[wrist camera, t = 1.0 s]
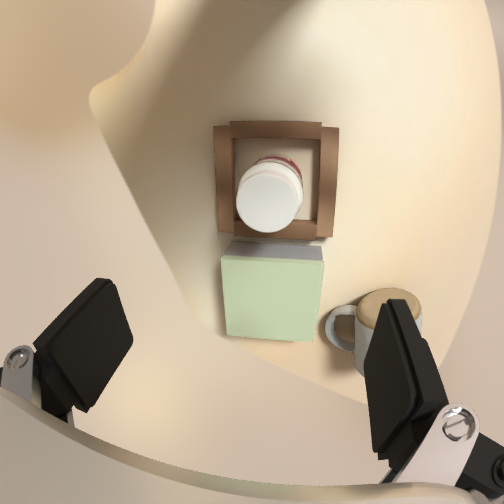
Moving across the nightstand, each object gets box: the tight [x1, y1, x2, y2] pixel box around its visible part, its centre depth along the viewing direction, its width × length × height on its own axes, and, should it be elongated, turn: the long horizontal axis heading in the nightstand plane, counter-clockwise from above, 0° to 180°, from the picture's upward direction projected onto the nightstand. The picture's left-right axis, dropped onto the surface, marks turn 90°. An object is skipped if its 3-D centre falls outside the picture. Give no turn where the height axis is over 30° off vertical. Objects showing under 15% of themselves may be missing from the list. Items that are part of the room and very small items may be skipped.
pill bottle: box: [236, 154, 303, 233], centre depth 22 cm, size 5×5×8 cm
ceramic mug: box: [325, 288, 422, 377], centre depth 27 cm, size 11×8×8 cm
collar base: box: [213, 121, 339, 240], centre depth 25 cm, size 11×11×1 cm
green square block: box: [221, 242, 324, 342], centre depth 29 cm, size 9×9×4 cm
